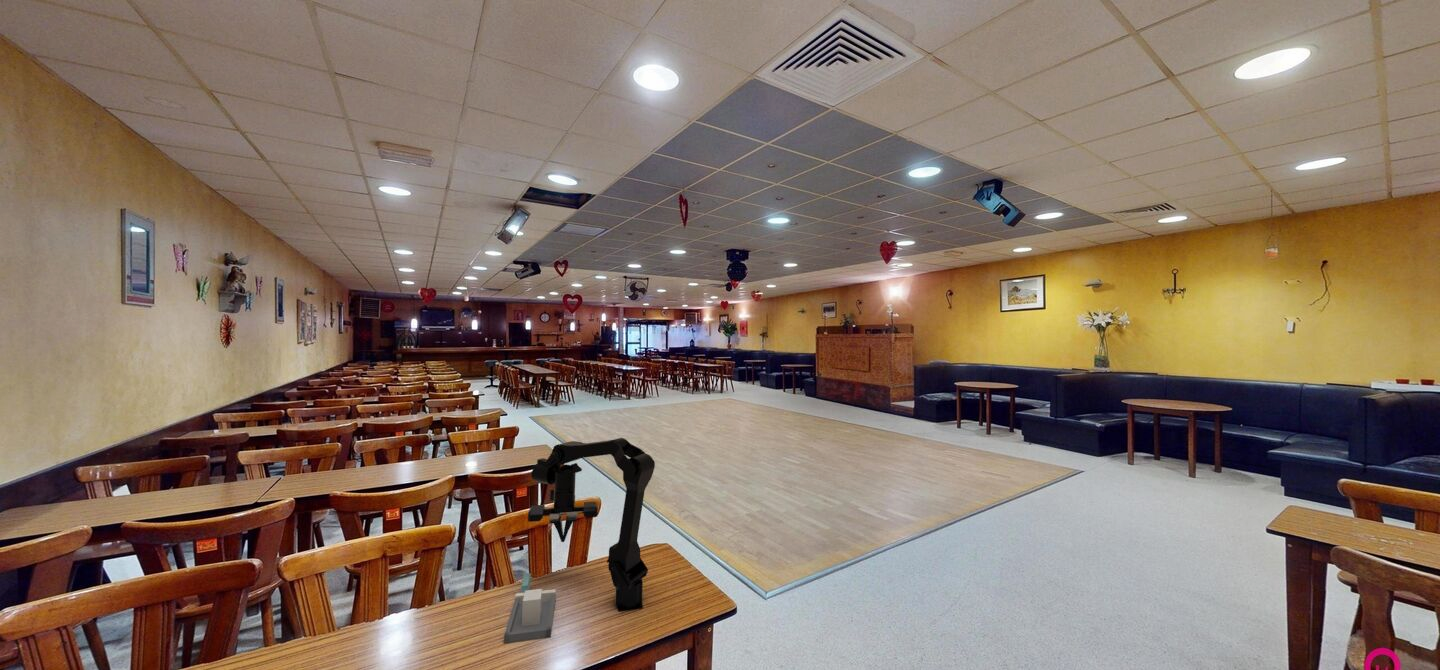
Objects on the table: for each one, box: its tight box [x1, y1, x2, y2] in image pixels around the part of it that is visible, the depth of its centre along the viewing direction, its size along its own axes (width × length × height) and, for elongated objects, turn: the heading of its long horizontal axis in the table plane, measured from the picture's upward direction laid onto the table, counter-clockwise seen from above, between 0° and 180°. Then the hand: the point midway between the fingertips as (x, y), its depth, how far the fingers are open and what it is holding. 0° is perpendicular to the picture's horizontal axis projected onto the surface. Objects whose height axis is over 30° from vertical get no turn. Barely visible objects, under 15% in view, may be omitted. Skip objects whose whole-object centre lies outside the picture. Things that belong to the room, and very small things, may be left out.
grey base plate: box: [503, 593, 557, 645], centre depth 115 cm, size 10×16×2 cm, turn 15°
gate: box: [514, 572, 557, 604], centre depth 127 cm, size 10×8×4 cm
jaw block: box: [522, 588, 543, 626], centre depth 115 cm, size 4×5×6 cm
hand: (562, 541), depth 134 cm, fingers closed
